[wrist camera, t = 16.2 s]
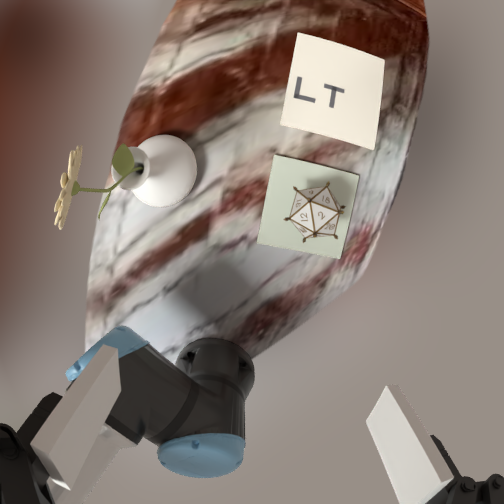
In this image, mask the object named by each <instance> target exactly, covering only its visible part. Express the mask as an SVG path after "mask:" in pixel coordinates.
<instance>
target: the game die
mask: <svg viewBox="0 0 504 504" xmlns="http://www.w3.org/2000/svg"><path fill="white" fill-rule="evenodd" d="M329 185H330V182H329V181H328V182H327V184H326V186H324V187H317V188H310V189H303V190H298V189H297V188H296V187H294V186H293V190H294V191H296V195H295V199H294V202H293V206H292V209H291V213H290V216H289V217H287V218H286V217H285V219H284V220H285V221H288V220H290V221H291V222H292V223H293V224H294V225H295V227H296V228H297V229H298V230H299V231H300V233H301V234H302V235H303V236H304V238H303V240H302V241H303V243H304V242H306V238H315V237H324V236H334V238H335V239H338V236H337V235H336V234H335V232H336V228H337V224H338V220H339V216H340V214H343V213H344V211H343V210H341V209H344V208H345V207H346V206H344V205H343V206H340V205H339V203H338V202H337V200H336V199H335V197H334V196H333V194H332V192H331V191H330V189H329V188H328V186H329Z"/></svg>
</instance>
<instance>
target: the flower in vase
mask: <svg viewBox="0 0 504 504" xmlns="http://www.w3.org/2000/svg"><path fill="white" fill-rule="evenodd" d="M81 158H82V145H81V146H80V149H79V146H77V149H76V150H75V151H74V152H73V150H72V151H71V153H70V158H69V168H68V174H67V173H65V172H64V173H63V174H62V177H61V186H62V188H63V189H62V191H61V193H60V197H59V199H58V200H57V202H56V205H55V209H54V211H55V212H56V211H57V210H58V209H59V211H58V214H57V216H56V219H55V225H56V224H57V223H58V221H59V220H60V222H59V228H60V229H62V227H63V225H64V223H65V220H66V217H67V213H68V210H69V207H70V203H71V200H72V196H73V195H76V194H77V193H78V192H79V191H87V192H109V191H110V192H109V194H108V196H107V197H106V199H105V201H104V202H103V205H102V207H101V210H100V212H99V215H98V218H99V219H100V213H101V211H102V210H103V208H104V207H105V205H106V204H107V202H108V200H109V197H110V194H111V190H113V189H114V188H115V187H116V186H119V187H120V188H122V189H125V190H132V191H133V193H134V194H135V195H136V197H137V198H138V199H139V200H141V201H142V202H143V203H145V204H147V205H149V206H153V207H169V206H172V205H174V204H177V203H178V202H180V201H181V200H183V199H184V198H185V197H186V196H187V195H188V194H189V192H190V191H191V189H192V187H193V185H194V183H195V180H196V176H197V162H196V158H195V156H194V153H193V151H192V150H191V148H190V147H189V146H188V145H187V144H186V143H185V142H184V141H183V140H181V139H179V138H178V137H175V136H171V135H157V136H154V137H151V138H149V139H147V140H145V141H144V142H143V143H141V144H140V145H139V146H138V147H127V146H126V145H125V144H122V145H121V146H120V147H119V148H118V149H117V151H116V152H115V154H114V156H113V159H112V168H111V172H112V177H113V180H114V182H115V184H114V185H113V186H112V187H111V188H109V189H90V188H80V186H79V184H78V183H77V176H78V172H79V168H80V163H81Z"/></svg>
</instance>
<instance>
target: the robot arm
mask: <svg viewBox="0 0 504 504" xmlns="http://www.w3.org/2000/svg"><path fill="white" fill-rule="evenodd" d="M66 376H67V378H68V380H69V381H72V382H71V384H70V385H69V387H68V388H67V389H66V390H65V395H64V396H60V395H58V394H56V393H54V392H52V393H51V394H49V395H47V396H45V397H44V398H43V399H42V400H41V401H40V403H39V404H38V405H37V407H36V408H35V409H34V410H33V412H32V414H30V416H29V417H28V418H27V419H26V421H25V422H24V424H23V425H22V426H21V427H20V429H19V430H18V432H17V433H16V432H15V431H14V430H13V428H11V427H10V426H9V425H7V424H2V423H0V504H83V503H84V501H85V500H86V498H87V497H88V495H89V494H90V492H91V491H92V490H93V488H94V487H95V485H96V484H97V482H98V481H99V479H100V478H101V476H102V475H103V473H104V472H105V471H106V469H107V468H108V466H109V464H110V463H111V462H112V460H113V459H114V457H115V456H116V454H117V453H118V451H119V450H120V449H122V448H129V447H136V446H137V445H138V443H139V442H140V440H141V439H142V437H144V438H146V439H148V440H149V441H151V442H152V443H154V444H155V445H157V446H158V447H159V448H158V450H157V454H158V459H159V461H160V462H161V464H162V465H163V466H164V467H166V468H167V469H169V470H170V471H172V472H175V473H178V474H180V475H184V476H189V477H195V478H213V477H219V476H223V475H226V474H228V473H231V472H233V471H234V470H235V469H237V468H238V467H239V466H240V465H241V463H242V460H243V453H244V448H245V400H246V398H247V396H248V395H249V393H250V391H251V389H252V387H253V383H254V377H255V376H254V365H253V362H252V360H251V358H250V357H249V355H248V354H247V353H246V352H245V351H244V350H243V349H242V348H240V347H239V346H237V345H235V344H233V343H231V342H229V341H226V340H221V339H214V338H209V339H201V340H197V341H194V342H192V343H190V344H189V345H187V346H186V347H185V348H184V349H183V350H182V351H181V352H180V354H179V356H178V358H177V361H176V364H175V365H174V364H173V363H171V362H170V361H169V360H168V359H166V358H165V357H164V356H163V355H162V354H160V353H159V352H158V351H157V350H156V349H155V348H153V347H152V346H151V345H150V344H149V342H148V341H145V340H144V339H143V338H142V337H140V336H139V335H138V334H137V333H135V332H134V331H133V330H132V329H131V328H129V327H127V326H117V327H115V328H114V329H112V330H111V331H110V332H109V333H107V334H106V335H105V336H104V337H103V338H101V339H100V340H99V341H98V342H97V343H96V344H95V345H93V346H92V347H91V348H90V349H89V350H88V351H87V352H86V353H85V354H84V355H83V356H81V357H80V358H79V360H77V361H76V362H75V363H74V364H73V365H72V366H71V367H70V368H69V369H68V370H67V371H66ZM366 423H367V426H368V428H369V430H370V433H371V435H372V437H373V439H374V442H375V444H376V447H377V449H378V451H379V454H380V456H381V458H382V461H383V463H384V466H385V468H386V471H387V473H388V476H389V478H390V481H391V483H392V485H393V488H394V491H395V493H396V496H397V498H398V501H399V503H400V504H504V478H503V477H502V476H501V475H499V474H493V475H491V476H490V477H489V478H488V479H487V480H486V481H481V482H475V481H474V480H473V479H472V478H470V477H465V476H464V477H462V476H461V475H460V473H459V471H458V470H457V468H456V466H455V465H454V463H453V461H452V460H451V458H450V456H448V453H447V451H446V450H445V448H444V446H443V445H442V443H441V441H440V440H438V439H437V438H436V437H435V436H434V435H429V433H428V432H427V430H426V428H425V427H424V425H423V424H422V422H421V421H420V419H419V417H418V416H417V414H416V412H415V411H414V409H413V408H412V406H411V405H410V403H409V402H408V400H407V398H406V397H405V395H404V394H403V392H402V391H401V389H400V387H399V386H398V385H387V386H386V387H385V389H384V391H383V393H382V395H381V397H380V398H379V400H378V402H377V404H376V405H375V407H374V409H373V410H372V412H371V414H370V416H369V417H368V419H367V420H366Z"/></svg>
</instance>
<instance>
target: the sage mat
mask: <svg viewBox="0 0 504 504" xmlns="http://www.w3.org/2000/svg"><path fill="white" fill-rule="evenodd" d="M358 179H359V176H358V175H355V174H351V173H348V172H344V171H340V170H337V169H333V168H329V167H325V166H321V165H317V164H313V163H309V162H305V161H300V160H296V159H292V158H287V157H282V156H278V155H274V157H273V163H272V168H271V173H270V178H269V183H268V188H267V193H266V198H265V203H264V208H263V213H262V218H261V223H260V228H259V233H258V238H257V243H258V244H263V245H269V246H274V247H279V248H285V249H290V250H295V251H301V252H306V253H311V254H316V255H322V256H327V257H332V258H337V259H340V258H341V254H342V250H343V246H344V242H345V238H346V234H347V230H348V226H349V221H350V217H351V212H352V208H353V203H354V199H355V194H356V189H357V184H358ZM328 181H329V182H330V185H329V186H328V188H329V189H330V191H331V192H332V194H333V196H334V197H335V199H336V200H337V202H338V203H339V205H340V206H343V205H344V206H346V207H345V208H344V209H341V210H343V211H344V213H343V214H340V216H339V220H338V224H337V228H336V232H335V234H336V235H337V236H338V239H335V238H334V236H324V237H315V238H306V242H304V243H303V241H302V240H303V238H304V236H303V235H302V234H301V233H300V231H299V230H298V229H297V228H296V227H295V225H294V224H293V223H292V222H291V221H290V220H288V221H285V220H284V219H285V217H286V218H287V217H289V216H290V213H291V209H292V206H293V202H294V199H295V195H296V191H294V190H293V186H294V187H296V188H297V189H298V190H303V189H310V188H317V187H324V186H326V184H327V182H328Z"/></svg>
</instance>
